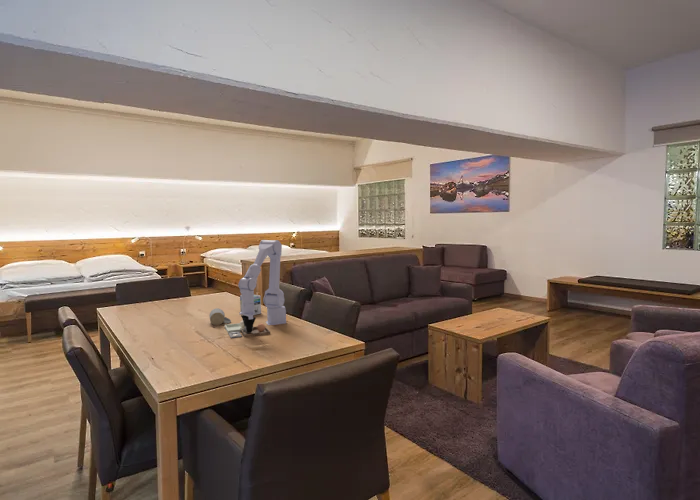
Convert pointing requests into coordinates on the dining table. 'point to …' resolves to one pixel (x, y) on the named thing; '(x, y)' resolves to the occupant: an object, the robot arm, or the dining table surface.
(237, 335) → the tile
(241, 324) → the cream ball
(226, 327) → the sage tray
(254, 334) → the walnut tray
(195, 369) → the dining table surface
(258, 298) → the light bulb box
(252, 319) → the robot arm
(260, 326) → the terracotta ball
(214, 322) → the ceramic mug
